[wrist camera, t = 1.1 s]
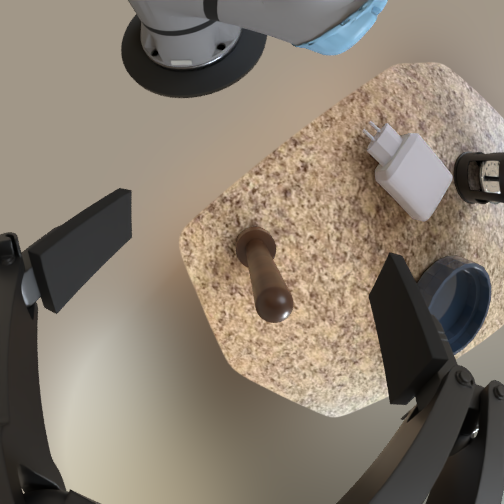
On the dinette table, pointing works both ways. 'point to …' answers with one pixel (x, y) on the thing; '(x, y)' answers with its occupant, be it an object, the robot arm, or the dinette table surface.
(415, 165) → the charger
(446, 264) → the bowl
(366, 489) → the robot arm
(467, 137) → the dinette table surface
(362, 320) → the dinette table surface
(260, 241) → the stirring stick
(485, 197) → the french press
